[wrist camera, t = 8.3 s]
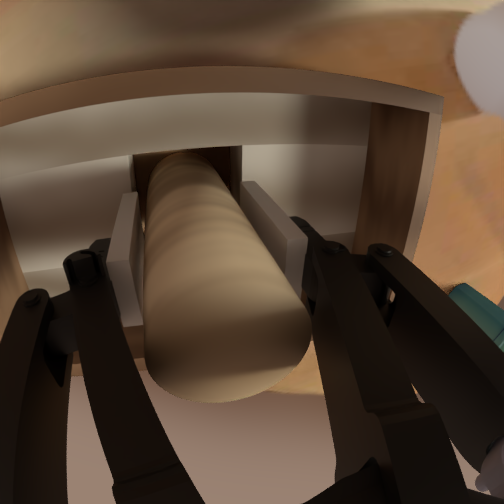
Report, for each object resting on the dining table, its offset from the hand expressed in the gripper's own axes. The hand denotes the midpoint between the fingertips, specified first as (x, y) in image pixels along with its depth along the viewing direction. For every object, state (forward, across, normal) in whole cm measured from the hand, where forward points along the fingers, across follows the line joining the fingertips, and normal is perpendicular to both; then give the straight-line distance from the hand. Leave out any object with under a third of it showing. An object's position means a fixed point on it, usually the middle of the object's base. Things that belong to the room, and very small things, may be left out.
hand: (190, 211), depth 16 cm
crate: (+4, 0, 0) cm, 4 cm away
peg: (+4, 0, 0) cm, 4 cm away
